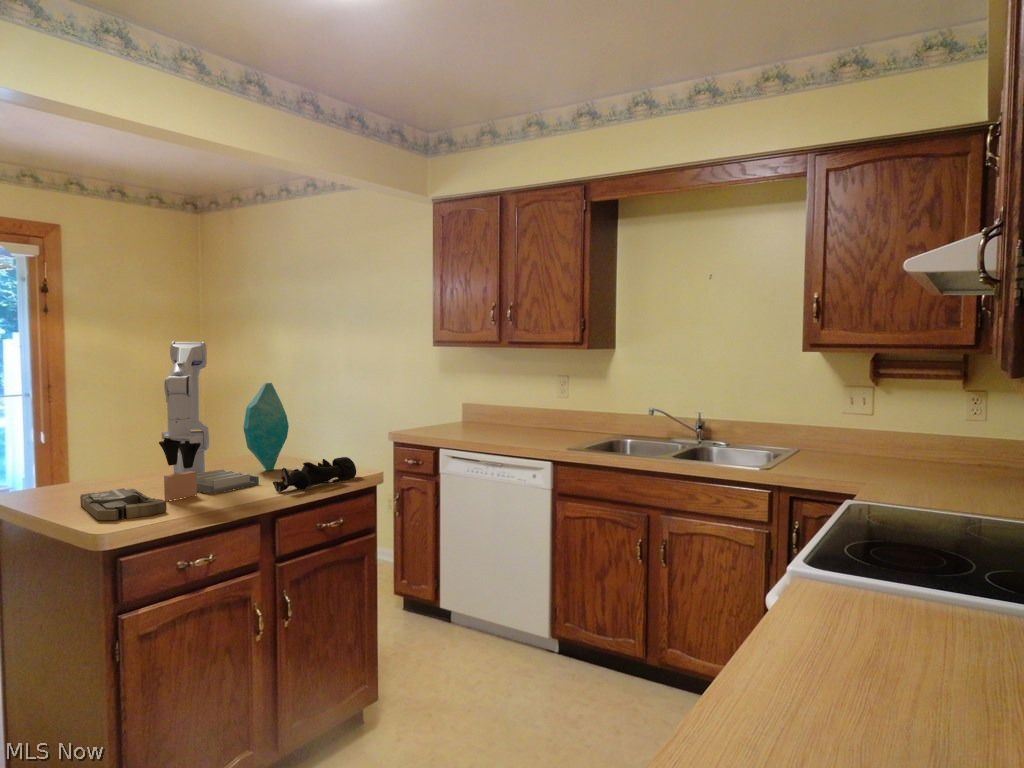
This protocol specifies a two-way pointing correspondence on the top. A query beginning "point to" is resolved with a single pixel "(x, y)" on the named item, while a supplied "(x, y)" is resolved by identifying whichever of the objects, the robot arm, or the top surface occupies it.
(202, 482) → the rack
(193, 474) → the tile
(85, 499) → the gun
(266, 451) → the crystal
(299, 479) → the figurine
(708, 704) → the top surface
